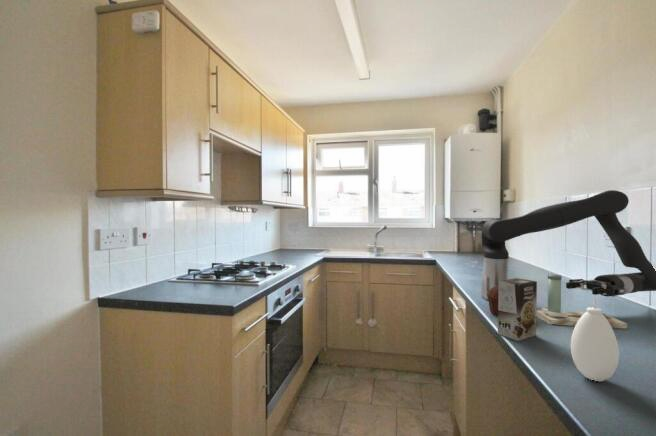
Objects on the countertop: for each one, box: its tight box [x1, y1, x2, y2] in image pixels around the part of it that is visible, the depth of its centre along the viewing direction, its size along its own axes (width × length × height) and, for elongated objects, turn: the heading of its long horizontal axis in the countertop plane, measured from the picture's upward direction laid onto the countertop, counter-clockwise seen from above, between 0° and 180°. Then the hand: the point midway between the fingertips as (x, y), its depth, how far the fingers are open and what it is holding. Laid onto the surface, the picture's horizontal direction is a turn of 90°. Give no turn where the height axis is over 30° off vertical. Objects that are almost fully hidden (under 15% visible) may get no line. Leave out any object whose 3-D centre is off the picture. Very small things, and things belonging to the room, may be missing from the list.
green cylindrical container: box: [541, 273, 567, 317], centre depth 103 cm, size 5×6×13 cm
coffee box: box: [497, 277, 538, 342], centre depth 90 cm, size 9×6×16 cm
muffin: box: [487, 285, 499, 317], centre depth 109 cm, size 12×11×10 cm
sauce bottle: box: [570, 296, 620, 382], centre depth 66 cm, size 8×8×18 cm
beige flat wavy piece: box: [536, 309, 628, 329], centre depth 102 cm, size 22×10×2 cm, turn 81°
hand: (579, 288), depth 106 cm, fingers open, 8 cm apart
